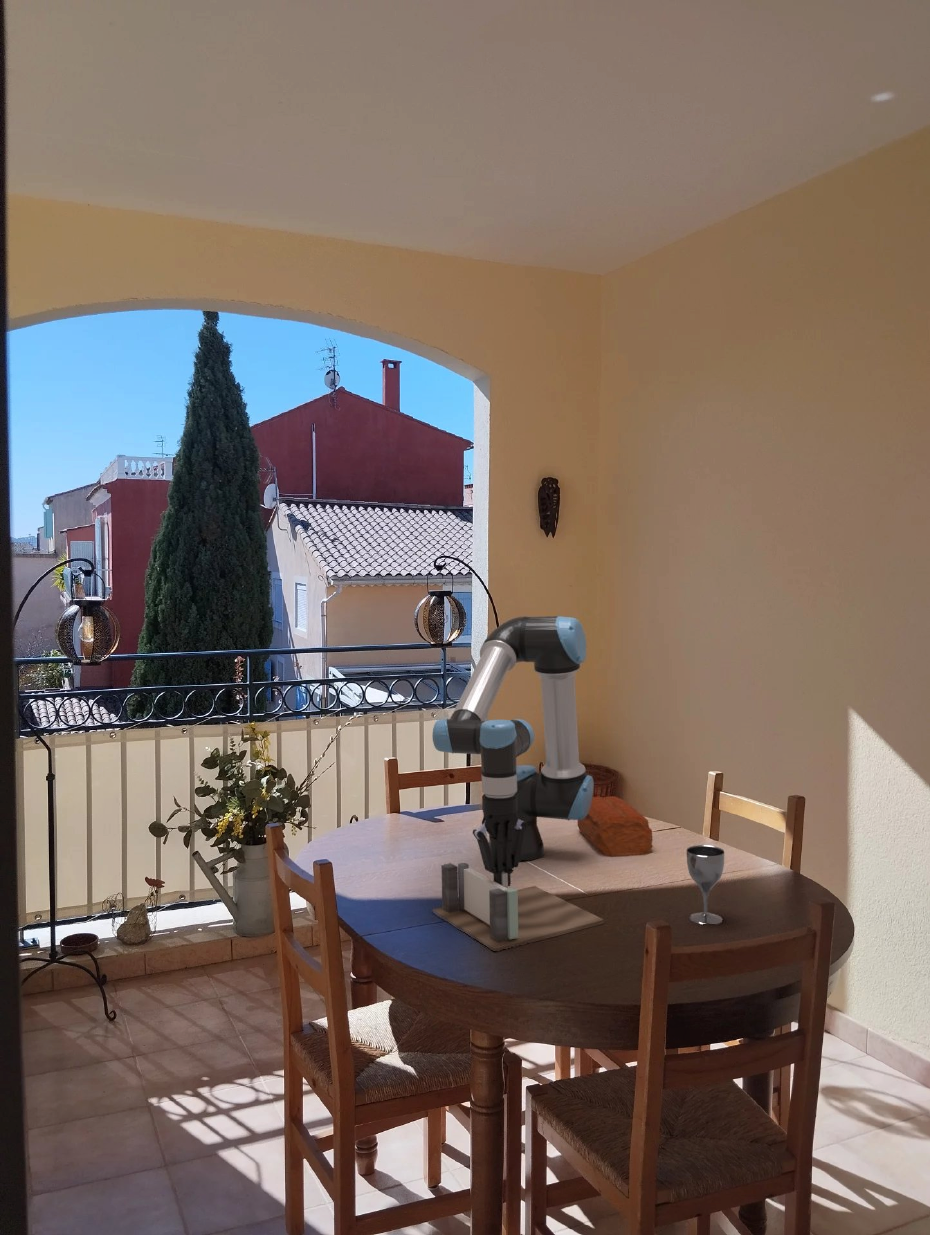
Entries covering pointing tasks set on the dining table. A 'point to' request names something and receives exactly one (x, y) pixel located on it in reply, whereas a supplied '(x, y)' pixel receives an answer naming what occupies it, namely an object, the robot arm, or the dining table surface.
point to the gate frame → (535, 915)
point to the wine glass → (705, 876)
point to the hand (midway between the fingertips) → (502, 901)
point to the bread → (616, 828)
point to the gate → (484, 897)
